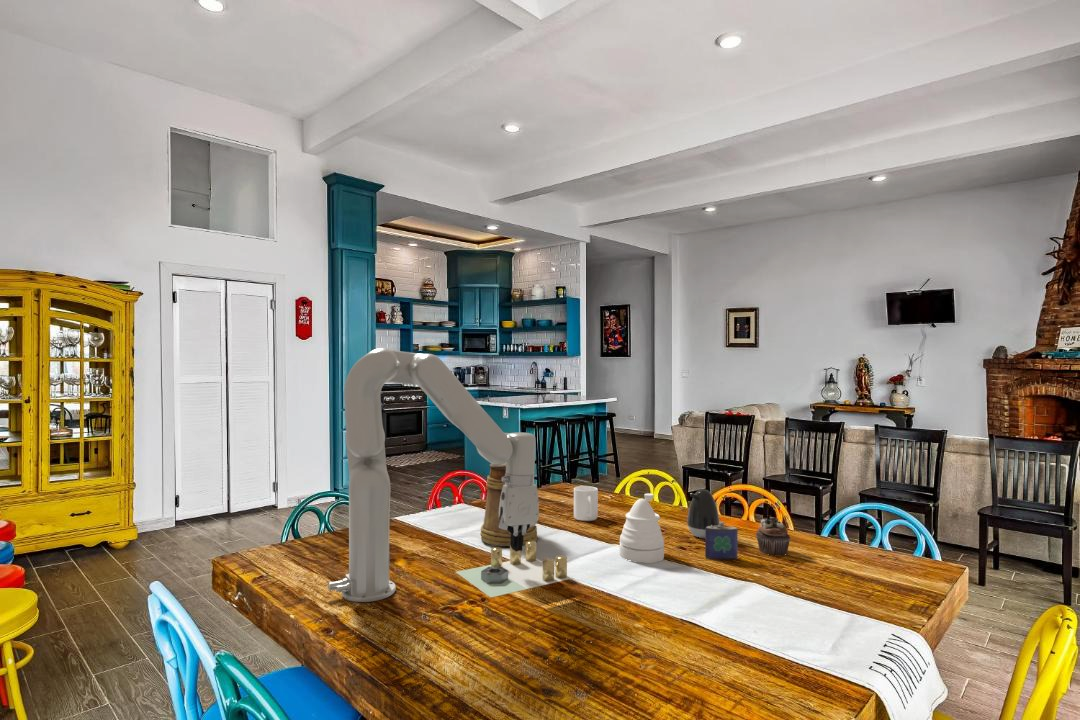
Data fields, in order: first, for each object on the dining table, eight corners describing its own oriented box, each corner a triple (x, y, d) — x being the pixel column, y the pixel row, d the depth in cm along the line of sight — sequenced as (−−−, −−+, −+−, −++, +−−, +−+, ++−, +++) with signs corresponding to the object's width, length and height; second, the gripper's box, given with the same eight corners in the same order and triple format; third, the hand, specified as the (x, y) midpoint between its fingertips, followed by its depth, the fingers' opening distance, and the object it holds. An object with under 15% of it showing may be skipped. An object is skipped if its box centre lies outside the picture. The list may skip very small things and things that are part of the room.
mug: (579, 524, 210) (579, 493, 210) (571, 515, 222) (571, 486, 222) (603, 523, 212) (603, 492, 212) (594, 514, 224) (594, 485, 223)
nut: (490, 586, 151) (490, 577, 151) (478, 577, 157) (478, 569, 157) (511, 581, 155) (511, 572, 155) (498, 573, 160) (498, 564, 160)
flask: (736, 557, 177) (736, 520, 177) (739, 560, 174) (739, 523, 174) (704, 556, 177) (704, 520, 177) (706, 560, 174) (706, 522, 174)
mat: (490, 600, 144) (490, 597, 144) (455, 574, 161) (455, 571, 161) (572, 581, 157) (572, 578, 157) (532, 559, 174) (532, 556, 174)
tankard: (477, 548, 184) (477, 465, 183) (485, 526, 207) (485, 453, 207) (537, 548, 183) (537, 466, 183) (538, 526, 207) (538, 453, 207)
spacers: (522, 588, 150) (523, 567, 150) (489, 566, 165) (489, 548, 165) (569, 577, 158) (569, 558, 158) (532, 557, 173) (532, 540, 173)
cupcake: (795, 557, 177) (795, 523, 177) (762, 556, 177) (762, 522, 177) (783, 546, 187) (783, 514, 187) (751, 546, 187) (751, 514, 187)
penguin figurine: (680, 533, 200) (680, 487, 200) (705, 530, 204) (705, 485, 204) (700, 542, 190) (700, 494, 190) (726, 538, 195) (726, 491, 195)
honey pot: (661, 549, 184) (662, 490, 183) (666, 564, 171) (666, 500, 171) (618, 548, 185) (619, 488, 185) (620, 562, 172) (620, 498, 172)
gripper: (501, 484, 153) (498, 557, 153) (551, 480, 161) (548, 550, 161) (487, 479, 159) (484, 549, 159) (536, 475, 167) (533, 542, 167)
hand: (516, 549), depth 160 cm, fingers closed
